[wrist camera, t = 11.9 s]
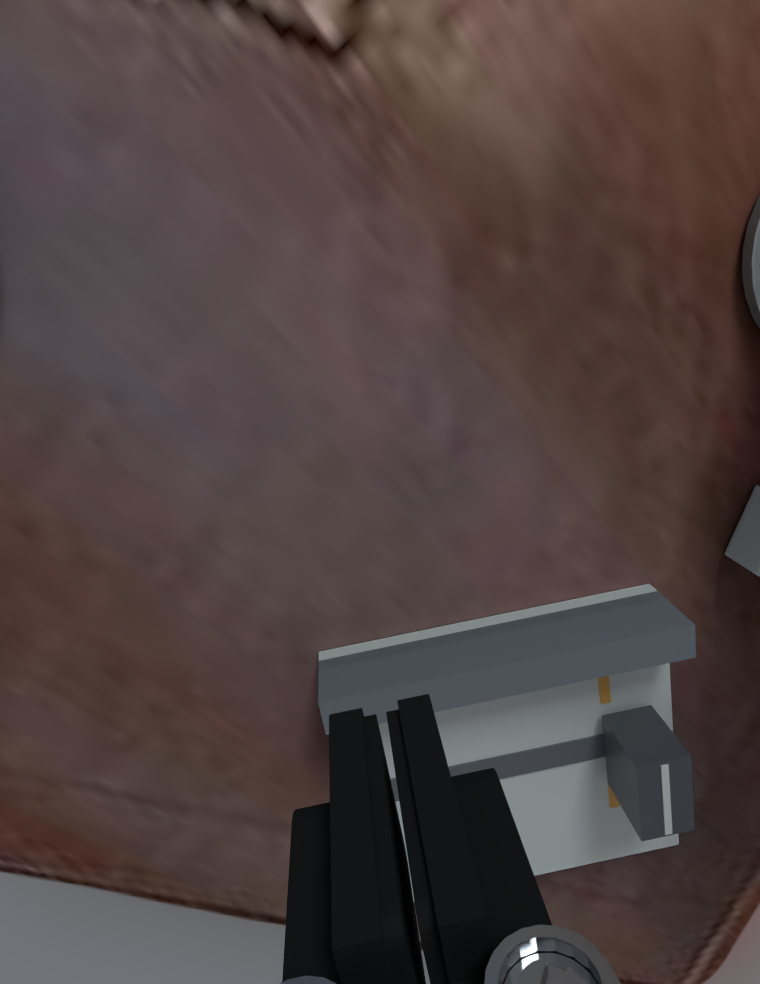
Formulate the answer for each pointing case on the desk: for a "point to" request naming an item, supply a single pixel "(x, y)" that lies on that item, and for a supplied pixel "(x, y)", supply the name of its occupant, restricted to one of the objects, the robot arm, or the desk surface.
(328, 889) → the robot arm
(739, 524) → the usb wall charger
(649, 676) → the console
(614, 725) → the fader knob
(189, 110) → the desk surface
